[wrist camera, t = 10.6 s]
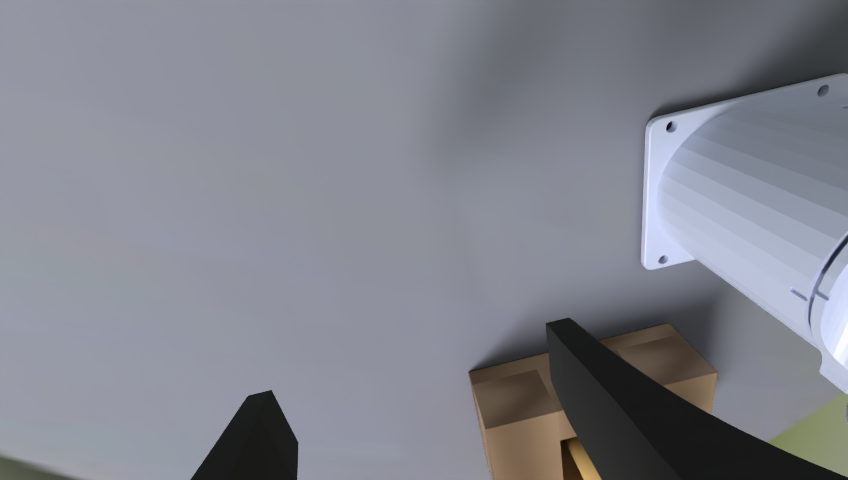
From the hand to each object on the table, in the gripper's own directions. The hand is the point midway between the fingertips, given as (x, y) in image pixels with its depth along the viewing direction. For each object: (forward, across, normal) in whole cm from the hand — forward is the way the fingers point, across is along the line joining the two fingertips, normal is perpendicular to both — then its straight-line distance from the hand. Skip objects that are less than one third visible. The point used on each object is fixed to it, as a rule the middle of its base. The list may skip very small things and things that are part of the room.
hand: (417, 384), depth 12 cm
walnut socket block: (+10, -8, +15) cm, 20 cm away
